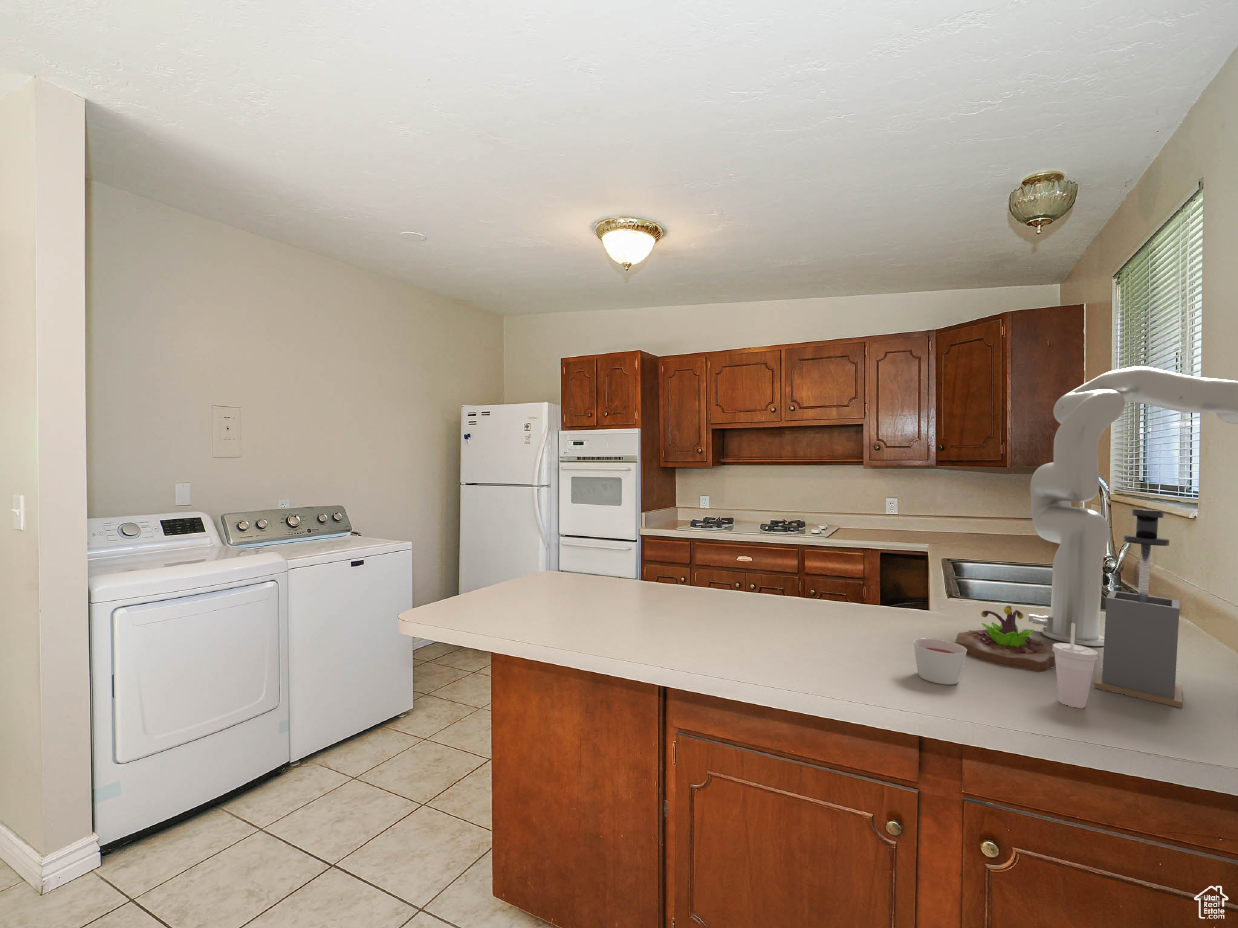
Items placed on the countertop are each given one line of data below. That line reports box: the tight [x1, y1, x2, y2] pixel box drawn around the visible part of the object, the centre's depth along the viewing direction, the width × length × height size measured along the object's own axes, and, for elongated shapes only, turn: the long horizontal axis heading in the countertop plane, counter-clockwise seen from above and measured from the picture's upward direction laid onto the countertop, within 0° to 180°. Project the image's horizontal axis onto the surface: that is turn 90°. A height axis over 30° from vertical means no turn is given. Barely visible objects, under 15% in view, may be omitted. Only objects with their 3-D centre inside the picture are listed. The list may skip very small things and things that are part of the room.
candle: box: [913, 637, 967, 686], centre depth 115 cm, size 9×9×6 cm
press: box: [1093, 590, 1183, 709], centre depth 113 cm, size 12×12×17 cm
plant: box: [955, 605, 1056, 672], centre depth 132 cm, size 20×20×11 cm
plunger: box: [1123, 508, 1170, 603], centre depth 113 cm, size 7×7×24 cm
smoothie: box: [1052, 623, 1099, 709], centre depth 105 cm, size 6×6×14 cm
